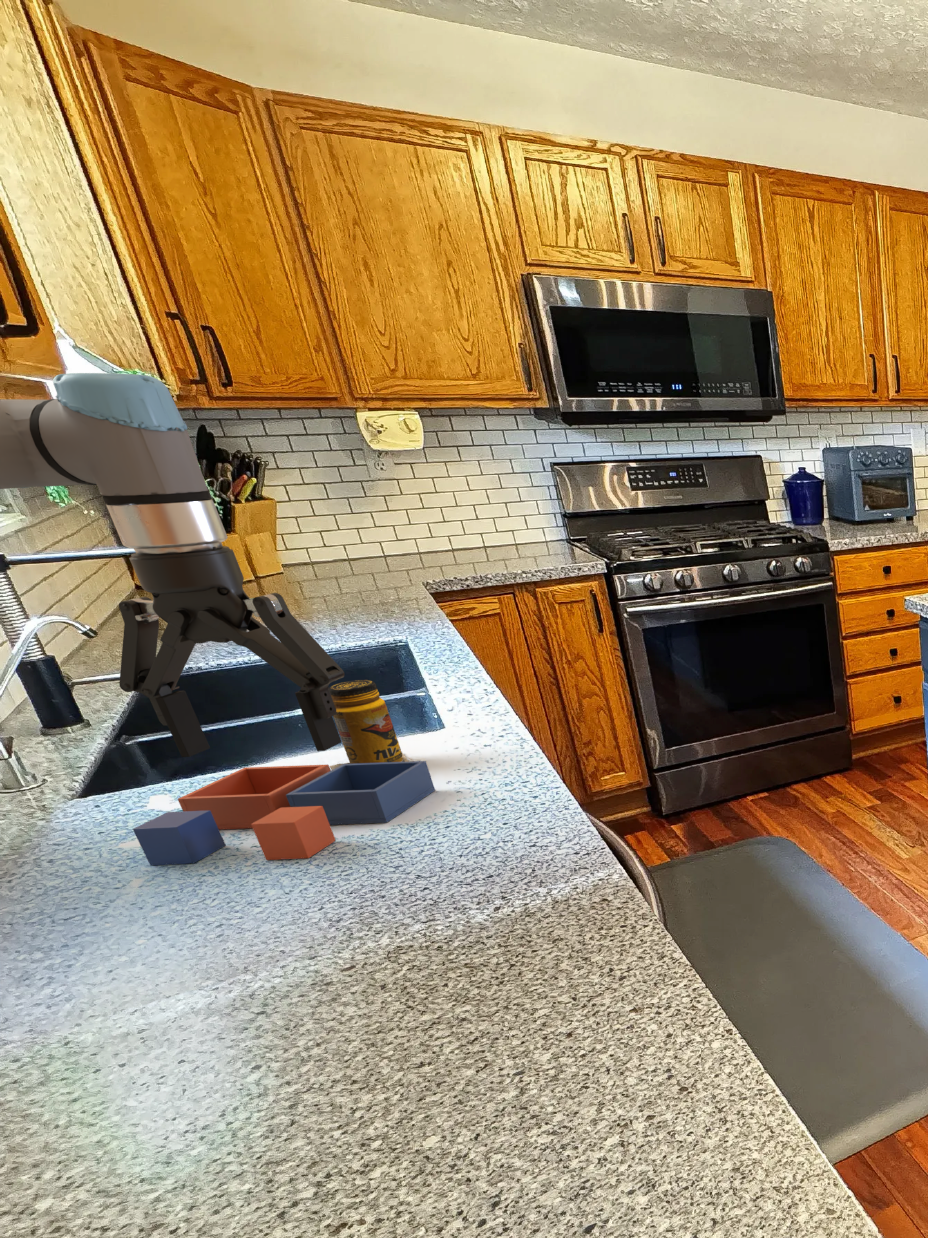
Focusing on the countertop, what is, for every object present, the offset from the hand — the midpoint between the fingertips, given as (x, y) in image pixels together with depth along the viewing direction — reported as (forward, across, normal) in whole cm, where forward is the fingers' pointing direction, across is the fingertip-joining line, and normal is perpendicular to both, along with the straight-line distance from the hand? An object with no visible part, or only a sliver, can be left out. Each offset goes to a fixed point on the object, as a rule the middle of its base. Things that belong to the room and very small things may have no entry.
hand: (263, 750), depth 93 cm
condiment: (+12, +9, -27) cm, 31 cm away
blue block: (+12, +12, 0) cm, 17 cm away
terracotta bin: (+12, +12, -12) cm, 21 cm away
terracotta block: (+12, 0, 0) cm, 12 cm away
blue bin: (+12, 0, -12) cm, 17 cm away
